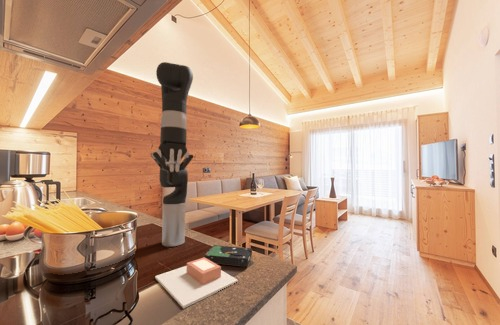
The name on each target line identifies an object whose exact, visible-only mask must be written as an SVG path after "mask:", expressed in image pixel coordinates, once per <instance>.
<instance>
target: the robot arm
mask: <svg viewBox="0 0 500 325" xmlns="http://www.w3.org/2000/svg"><path fill="white" fill-rule="evenodd" d="M155 74H156V79H157V82H158V83H159V85H160V86H161V90H160V91H161V117H160V124H159V125H160V135H159V137H160V140H159V142H160V144H159V146H158V149H157V150H155V151H154V152H151V153H150V156H151V158H152V159H153V161H155V163H156V164H157V165H158V167H159V183H160V186H161V187H162V188H174V190H173V191H172V192H170V193H169V194H167V195H164V196H163V198H162V199H163V200H162V224H161V226H162V227H161V228H162V229H161V230H162V232H161V235H162V236H161V245H162V246H164V247H176V246H177V247H178V246H180V245H183V244H184V243H185V242H186V240H185V238H186V235H185V234H186V199H187V196H188V183H189V181H188V180H189V173H188V170H187V168H186V167H187V166H188V165H189V164H190V162H191V161H192V160H193V159H194V154H191V153H189V151H188V147H187V132H188V131H187V127H188V125H187V124H188V123H187V121H188V120H187V119H188V118H187V100H188V97H189V96H188V95H189V92H190V89H191V86H192V83H193V79H194V74H193V71H192V69H191V68H190V67H189V66H187V65H184V64H178V63H172V62H161V63H159V64H158V65H157V68H156V73H155ZM183 158H184V159H183ZM182 159H183V160H182Z"/></svg>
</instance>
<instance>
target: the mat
mask: <svg viewBox="0 0 500 325" xmlns="http://www.w3.org/2000/svg"><path fill="white" fill-rule="evenodd" d="M154 278H155V280H156V281H157V282H158V283H159V284H160V285H161V286H162V287H163V288H164V289H165V290H166V291H167V293H168V294H169V295H170V296H171V298H173V299H174V300H175V302H177V304H178V305H179V306H180V307H182V309H183V310H184V309H186V308H188V307H190V306H192V305H193V304H194V305H195V304H196V303H199V302H200V301H202V300H205V299H206V298H208V297H210V296H212V295H215V294H216V293H219V292H221V291H223V290H225V289H226V287H227V288H229V287H231V286H233V285H235V284H237V283H239V280H238V279H237V278H236V277H234V276H232V275H230V274H228V273H227V272H225V271H223V270H222V269H221V277H219V278H217V279H214V280H212V281H210V282H207V283H205V284H203V285H202V284H201V283H200V282H198V281H197V280H196V279H194V278H193V277H192V276H190V275H189V274H188V273H187V265H184V266H181V267H178V268H175V269H173V270H170V271H167V272H163V273H161V274H157V275H155V277H154ZM236 282H237V283H236ZM234 283H235V284H234ZM230 285H231V286H230ZM228 286H229V287H228ZM224 288H225V289H224ZM222 289H223V290H222ZM220 290H221V291H220ZM218 291H219V292H218Z"/></svg>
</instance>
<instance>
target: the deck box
mask: <svg viewBox="0 0 500 325" xmlns="http://www.w3.org/2000/svg"><path fill="white" fill-rule="evenodd" d="M186 266H187V273H188V274H189V275H190V276H192V277H193V278H194V279H196V280H197V281H198V282H200V283H201V284H202V285H203V284H205V283H207V282H210V281H212V280H214V279H217V278H219V277H221V270H222V266H220V264H215V263H214V262H212V261H210V260H208V259H207V258H205V257H204V256H203V257H200V258H198V259H194V260H191V261H188V262H186Z"/></svg>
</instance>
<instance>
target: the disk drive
mask: <svg viewBox="0 0 500 325" xmlns="http://www.w3.org/2000/svg"><path fill="white" fill-rule="evenodd" d="M252 255H253V248H250V247H239V246H228V245H227V246H226V245H217V244H216V245H215V244H214V245H213V246H212V247H211V248H209V251H207V252H206V253H204V256H203V257H205V258H207V259H208V260H210V261H212V262H214V263H215V264H217V265H226V266H227V265H228V266H238V267H248V265H249V263H250V260H251V258H252Z"/></svg>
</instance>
